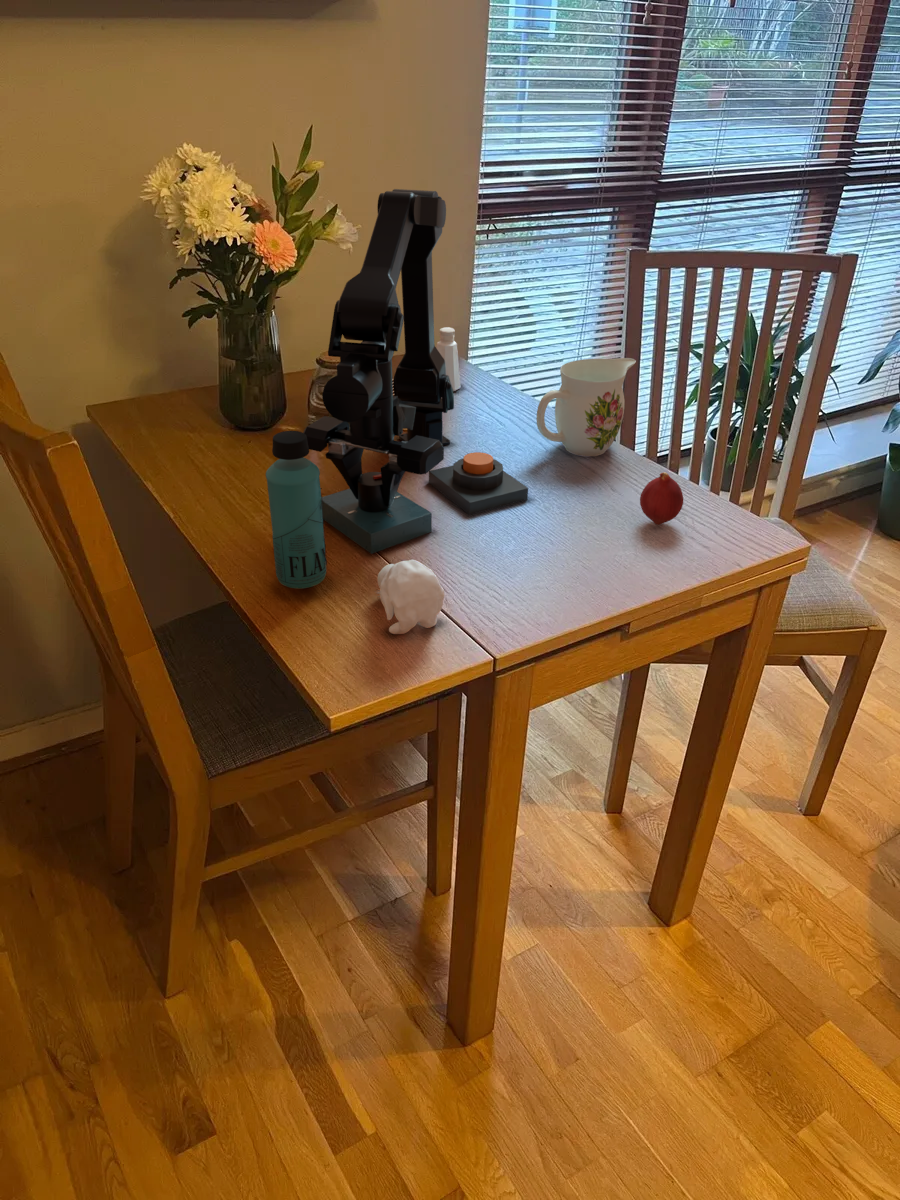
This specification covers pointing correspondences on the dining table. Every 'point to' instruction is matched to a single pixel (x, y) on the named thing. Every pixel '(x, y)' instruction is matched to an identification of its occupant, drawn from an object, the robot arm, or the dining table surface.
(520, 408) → the dining table surface
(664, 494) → the onion
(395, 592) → the white lumpy figure
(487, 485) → the button base
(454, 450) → the dining table surface
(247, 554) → the dining table surface
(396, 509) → the dial console
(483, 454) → the button
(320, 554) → the beverage bottle
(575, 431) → the pitcher
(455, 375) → the pepper shaker
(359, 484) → the dial
